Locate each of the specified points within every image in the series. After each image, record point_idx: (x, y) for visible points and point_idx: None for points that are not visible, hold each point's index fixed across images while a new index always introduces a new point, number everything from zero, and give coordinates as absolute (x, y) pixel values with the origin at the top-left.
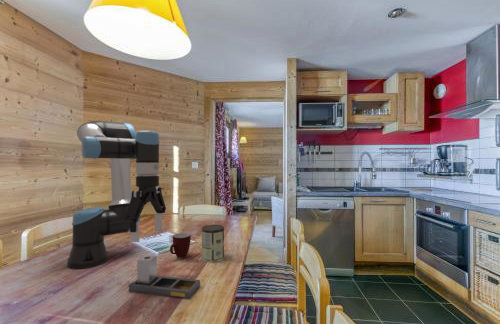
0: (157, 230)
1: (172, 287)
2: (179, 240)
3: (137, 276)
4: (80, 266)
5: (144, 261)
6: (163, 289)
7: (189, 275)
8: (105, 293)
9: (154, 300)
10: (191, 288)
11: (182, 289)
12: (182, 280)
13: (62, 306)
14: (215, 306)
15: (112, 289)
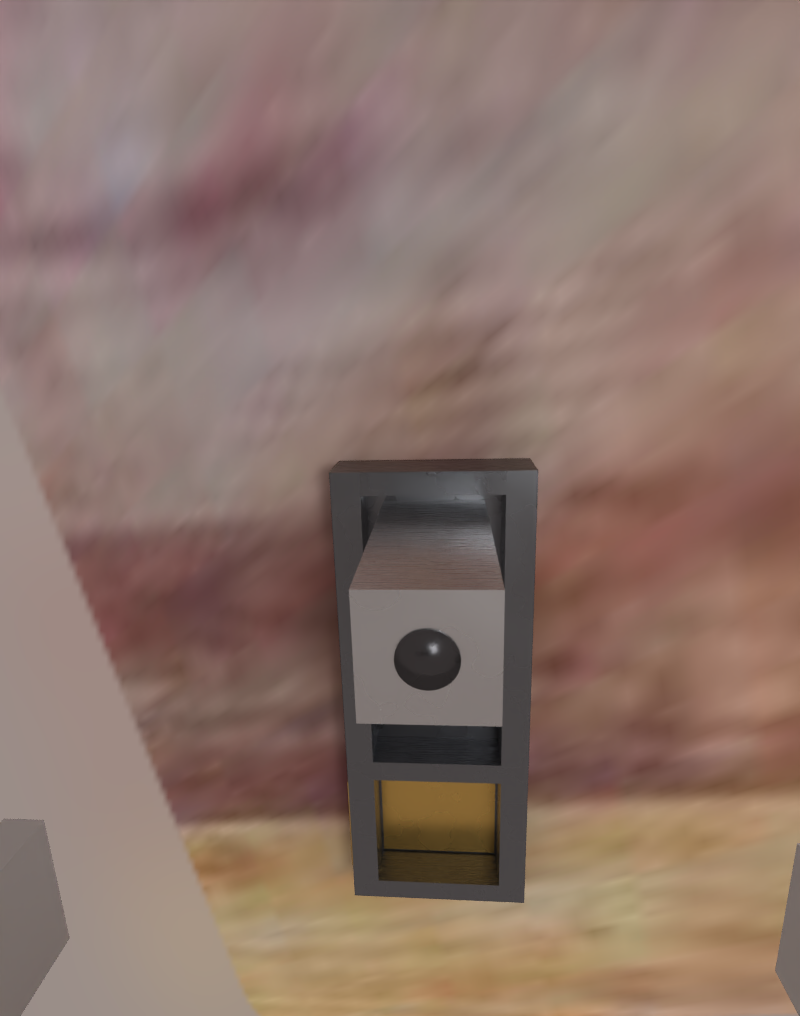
0: (793, 910)
1: (387, 778)
2: None
3: (372, 530)
4: None
5: (354, 667)
6: (346, 739)
7: (682, 740)
8: (282, 289)
9: (304, 678)
10: (402, 889)
11: (375, 847)
12: (501, 796)
13: (43, 114)
14: (343, 980)
15: (348, 295)
